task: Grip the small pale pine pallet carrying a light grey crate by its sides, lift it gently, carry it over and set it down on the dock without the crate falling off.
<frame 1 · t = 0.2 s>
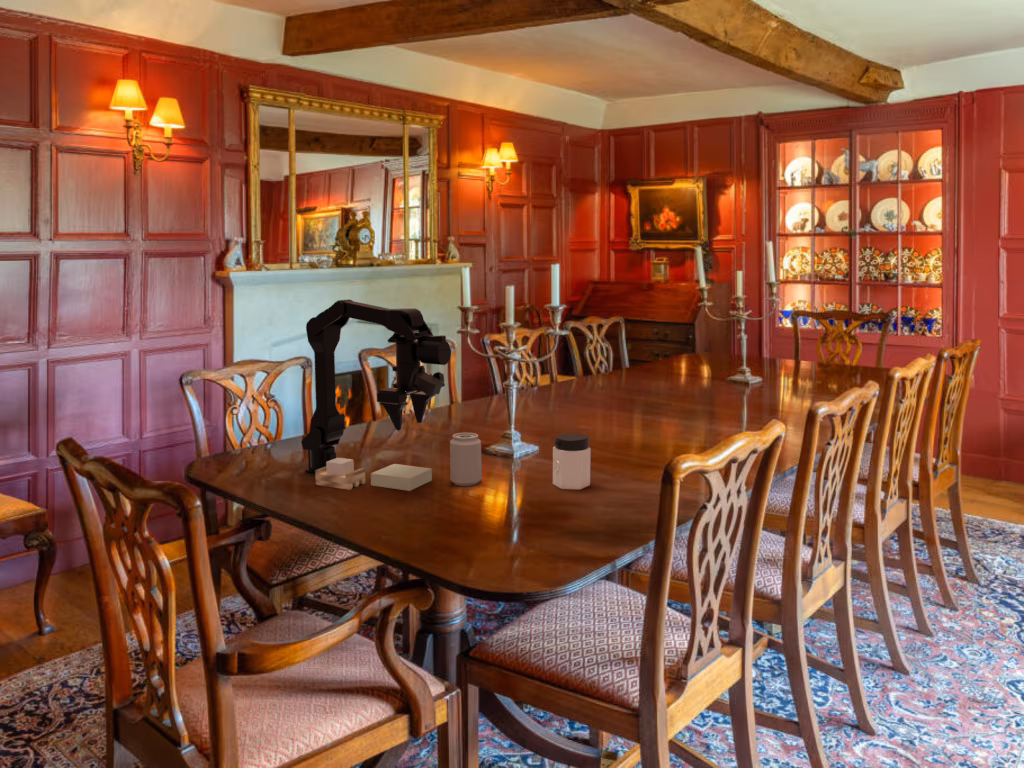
hand: (409, 426, 204), 14 cm above the table, fingers open, 9 cm apart
can: (466, 483, 207), on the table
jar: (571, 485, 205), on the table
dock: (401, 482, 207), on the table
pallet: (340, 484, 206), on the table, touching crate
crate: (340, 472, 206), point 3 cm above the table, touching pallet
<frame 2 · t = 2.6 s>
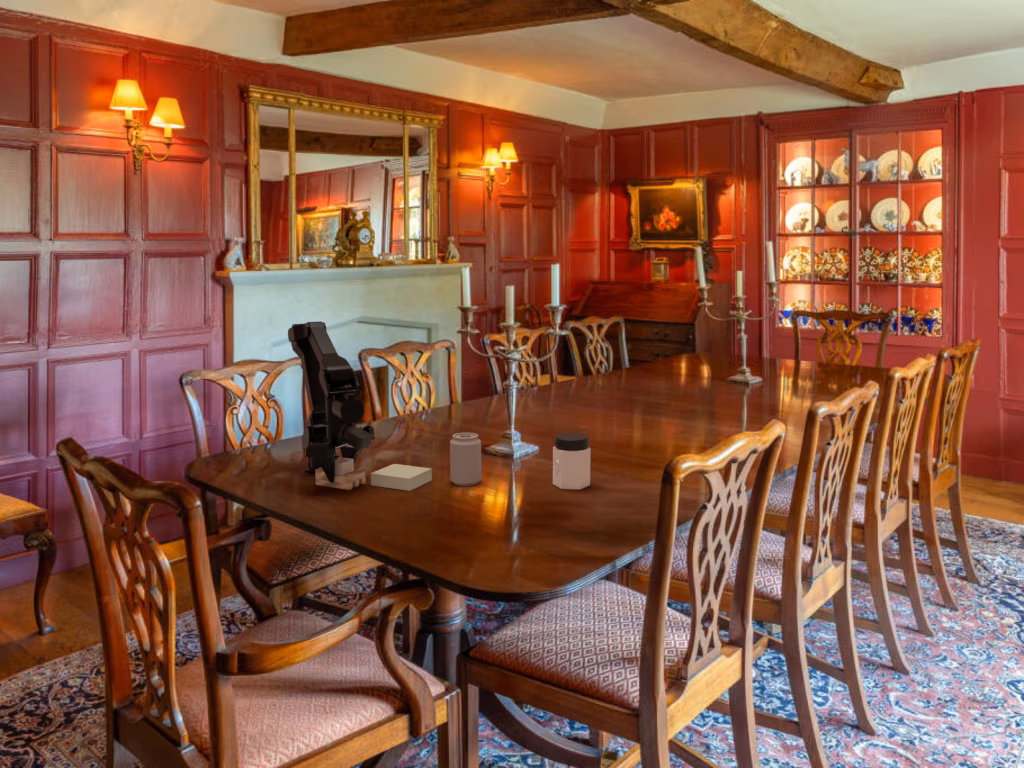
hand: (340, 478, 206), 1 cm above the table, fingers closed on pallet, 6 cm apart
pallet: (340, 484, 206), on the table, touching crate, gripper
everything else where it was.
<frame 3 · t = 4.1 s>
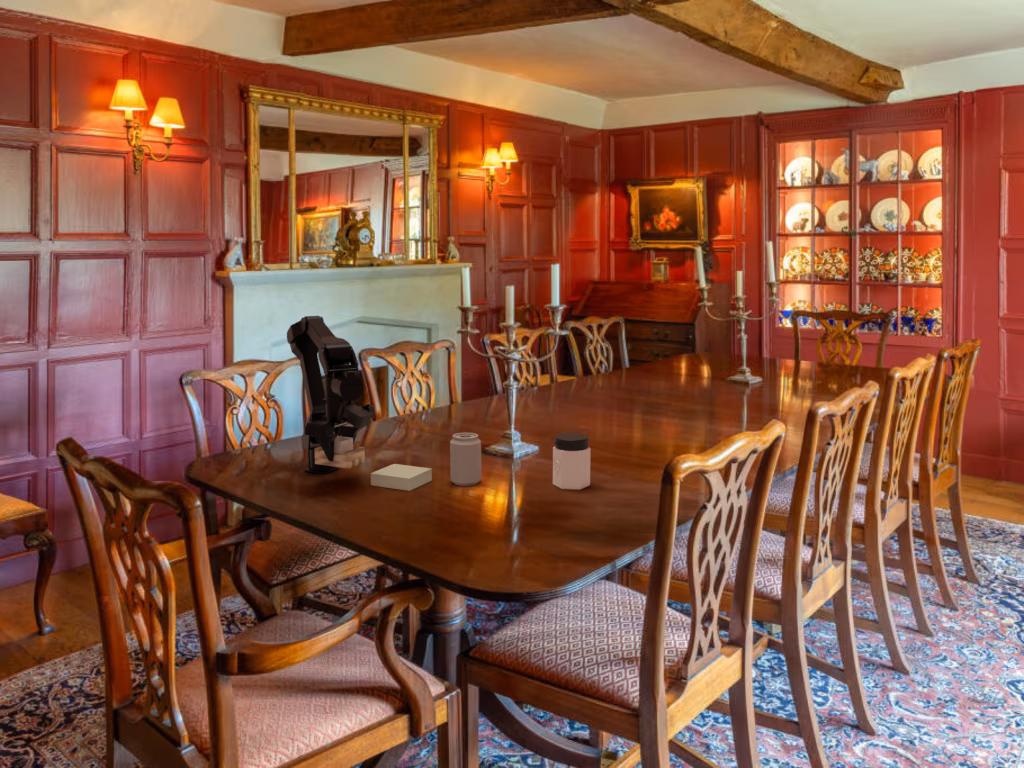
hand: (339, 458, 205), 6 cm above the table, fingers closed on pallet, 6 cm apart
pallet: (340, 463, 206), point 5 cm above the table, touching crate, gripper
crate: (339, 450, 205), point 8 cm above the table, touching pallet
everything else where it was.
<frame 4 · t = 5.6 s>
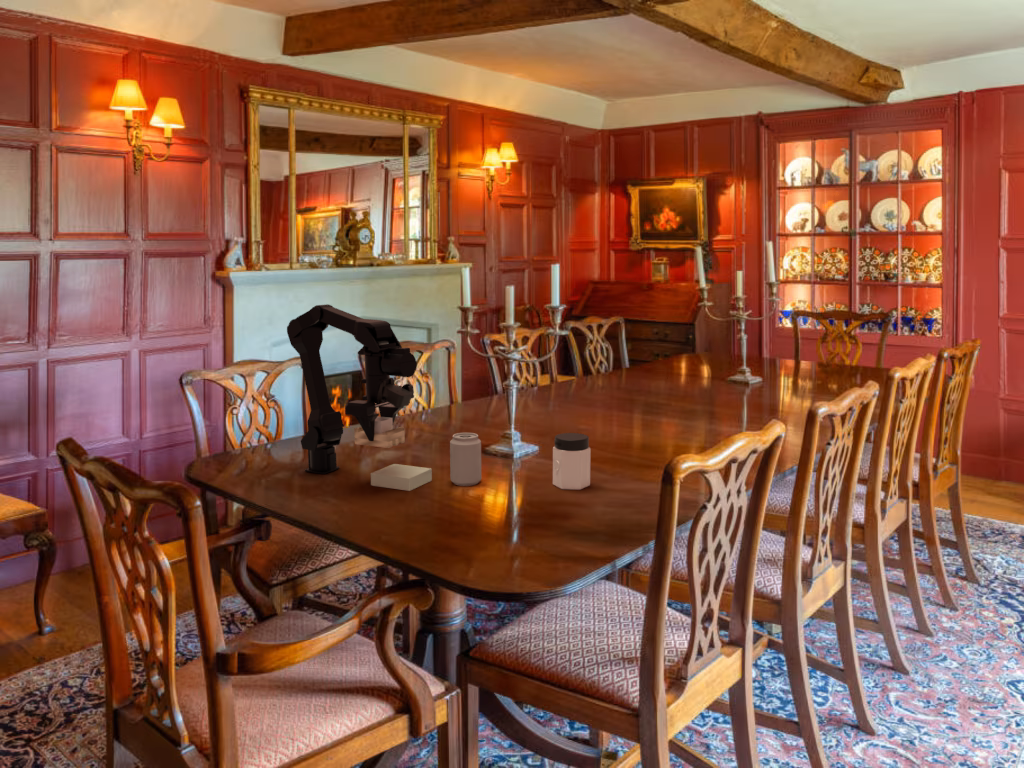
hand: (379, 438, 205), 11 cm above the table, fingers closed on pallet, 6 cm apart
pallet: (379, 443, 205), point 10 cm above the table, touching crate, gripper
crate: (379, 431, 204), point 13 cm above the table, touching pallet
everything else where it was.
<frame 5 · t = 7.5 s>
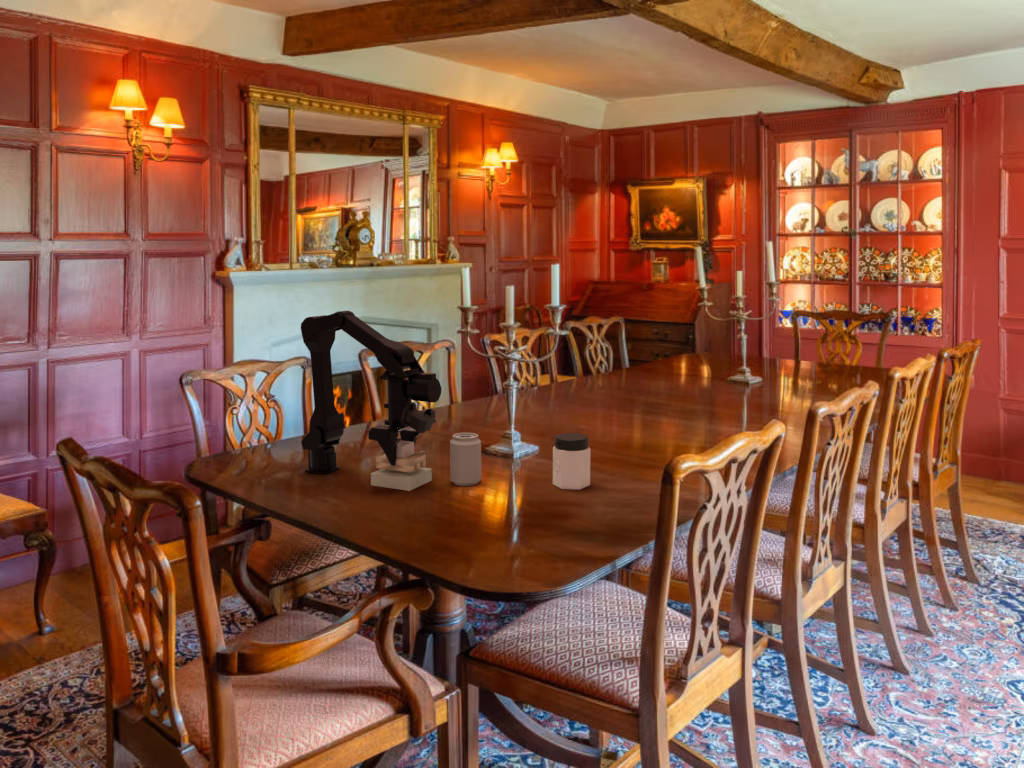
hand: (401, 462, 206), 5 cm above the table, fingers closed on pallet, 6 cm apart
pallet: (401, 467, 206), point 4 cm above the table, touching crate, gripper
crate: (400, 455, 206), point 7 cm above the table, touching pallet
everything else where it was.
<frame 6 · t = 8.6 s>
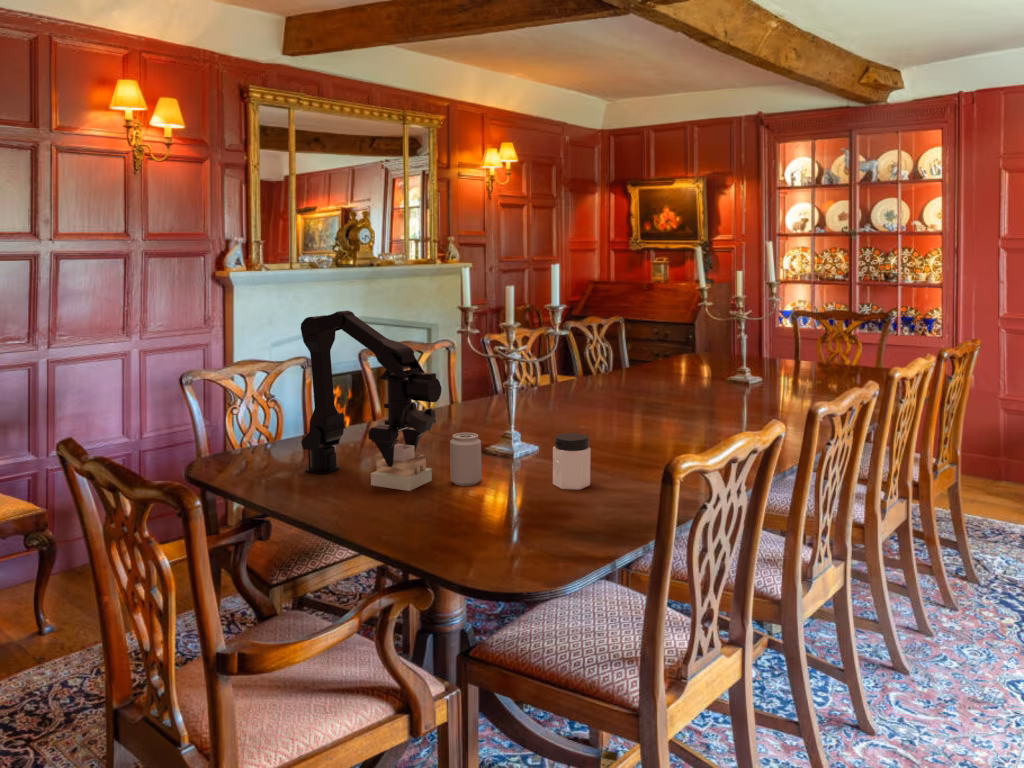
hand: (401, 462, 206), 5 cm above the table, fingers open, 9 cm apart
pallet: (401, 470, 207), point 3 cm above the table, touching crate, dock
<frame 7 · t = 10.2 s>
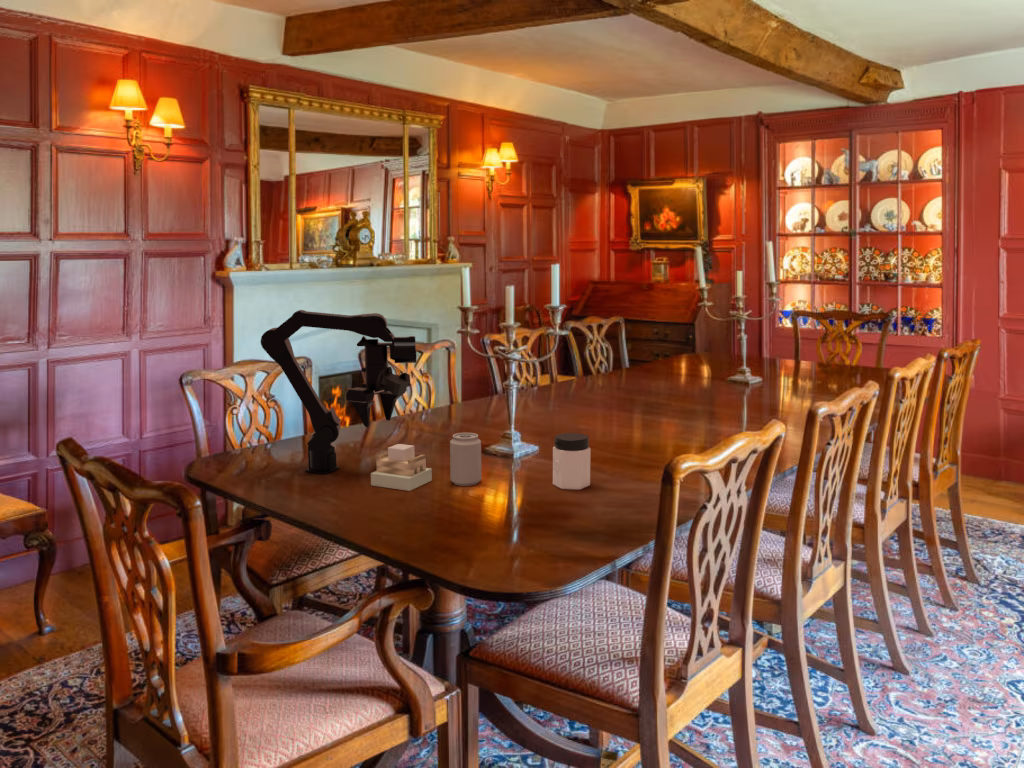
hand: (377, 423, 218), 12 cm above the table, fingers open, 9 cm apart
nothing on the table moved.
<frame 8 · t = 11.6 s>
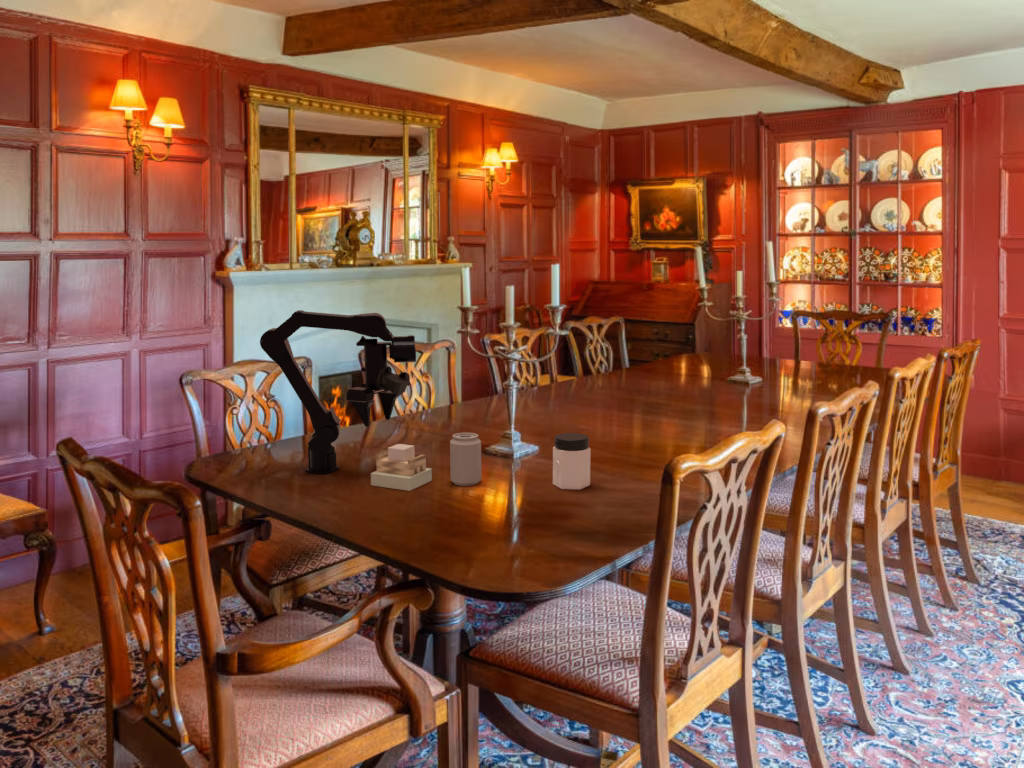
hand: (377, 423, 219), 12 cm above the table, fingers open, 9 cm apart
nothing on the table moved.
at the end: pallet inside the target area on the dock (0.0 cm from its centre), point 3.0 cm above the dock's base; crate 0.1 cm off-centre on the pallet, point 3.0 cm above the pallet's base; crate tilted 0° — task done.
